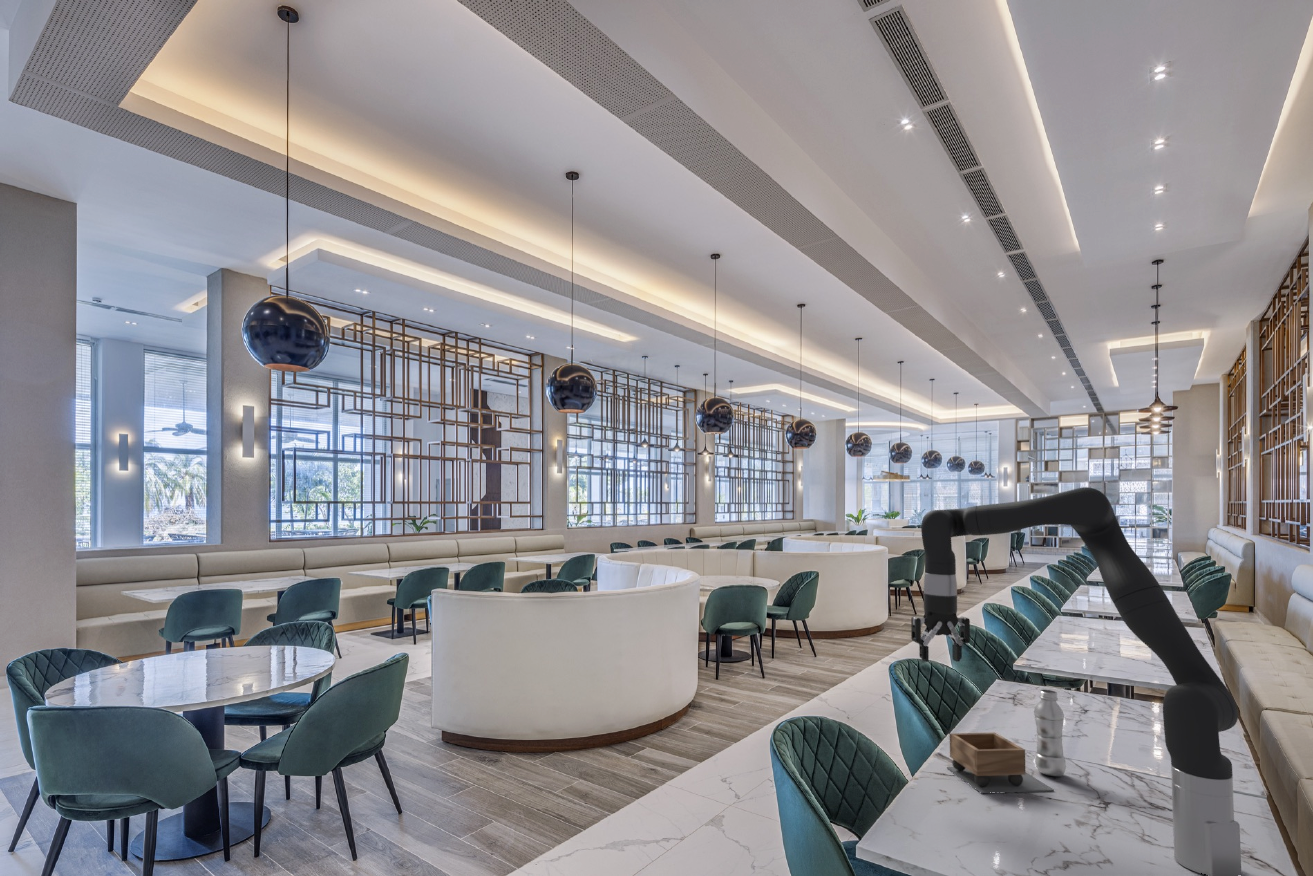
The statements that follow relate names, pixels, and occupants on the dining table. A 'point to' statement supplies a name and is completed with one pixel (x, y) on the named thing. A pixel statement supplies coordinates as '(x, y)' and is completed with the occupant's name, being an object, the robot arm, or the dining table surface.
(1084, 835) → the dining table surface
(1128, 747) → the dining table surface
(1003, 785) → the gray mat
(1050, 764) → the plastic bottle
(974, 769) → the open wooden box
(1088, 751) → the dining table surface
